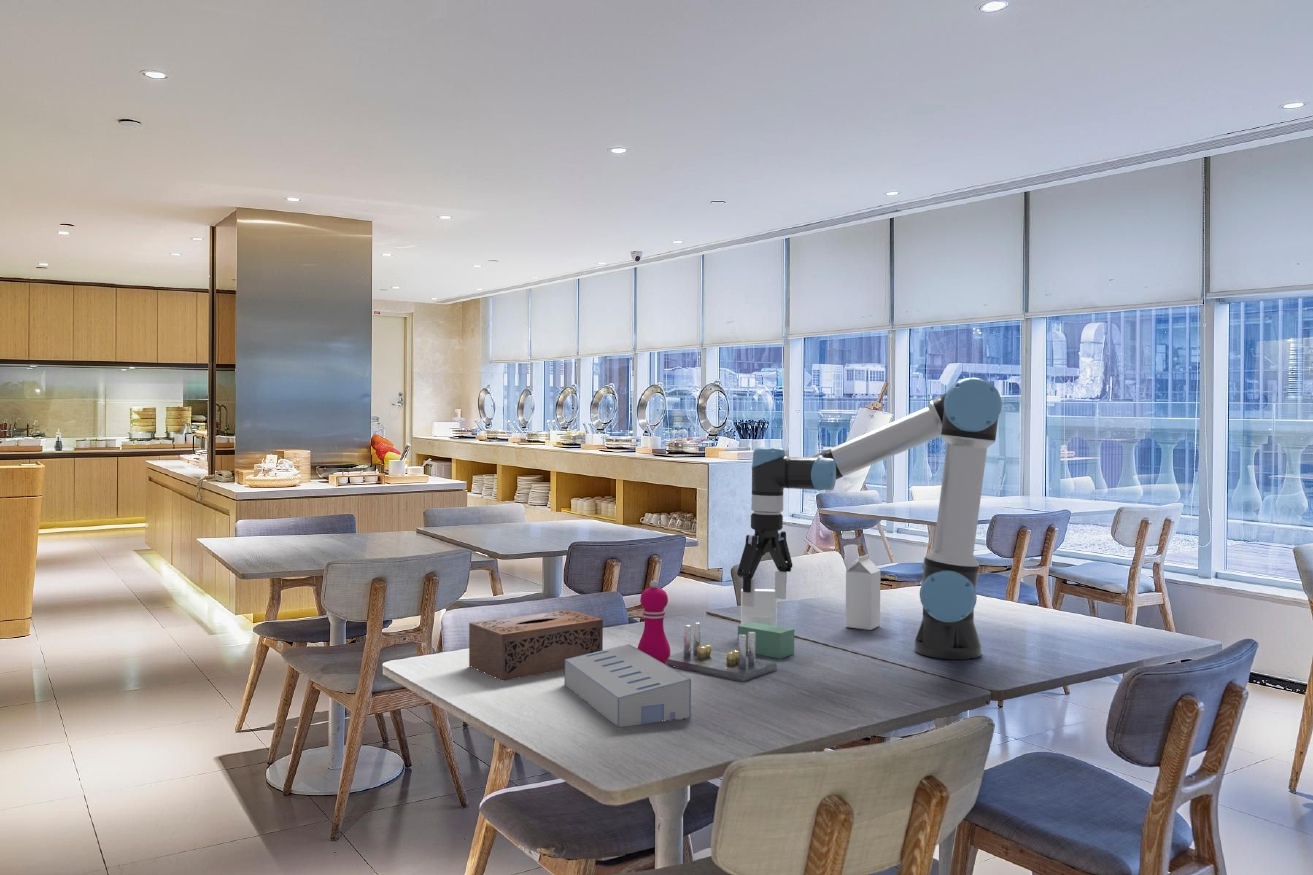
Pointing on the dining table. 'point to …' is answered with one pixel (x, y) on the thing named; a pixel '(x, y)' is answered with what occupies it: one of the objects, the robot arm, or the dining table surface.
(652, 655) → the pepper mill
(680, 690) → the warehouse
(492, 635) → the tissue box cover
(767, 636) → the mint green rectangular block
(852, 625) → the milk carton
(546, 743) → the dining table surface
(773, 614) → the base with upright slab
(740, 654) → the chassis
